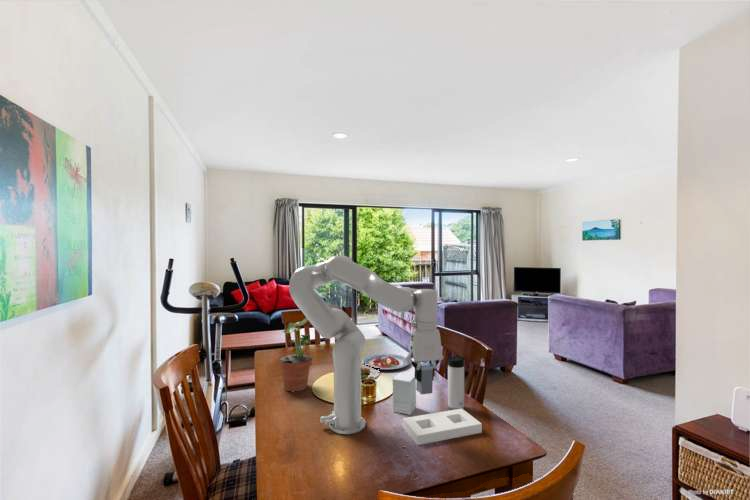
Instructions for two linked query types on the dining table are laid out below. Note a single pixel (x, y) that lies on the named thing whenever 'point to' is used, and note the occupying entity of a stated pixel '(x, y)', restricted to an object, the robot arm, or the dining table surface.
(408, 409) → the supplement box
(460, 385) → the travel mug
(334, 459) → the dining table surface
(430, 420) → the socket panel
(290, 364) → the potted plant
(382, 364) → the ceramic plate
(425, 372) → the plug
